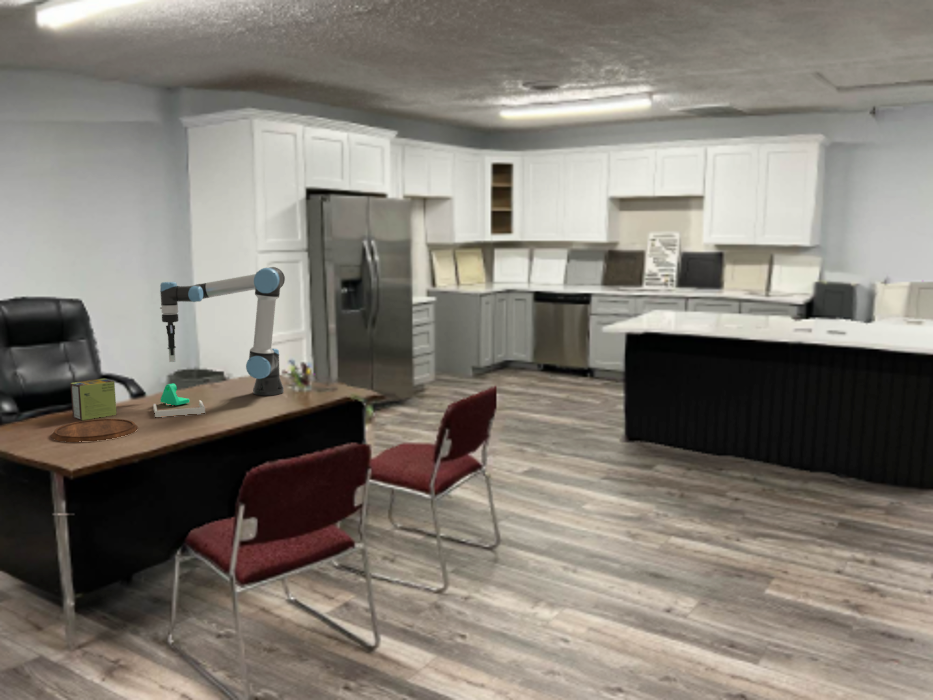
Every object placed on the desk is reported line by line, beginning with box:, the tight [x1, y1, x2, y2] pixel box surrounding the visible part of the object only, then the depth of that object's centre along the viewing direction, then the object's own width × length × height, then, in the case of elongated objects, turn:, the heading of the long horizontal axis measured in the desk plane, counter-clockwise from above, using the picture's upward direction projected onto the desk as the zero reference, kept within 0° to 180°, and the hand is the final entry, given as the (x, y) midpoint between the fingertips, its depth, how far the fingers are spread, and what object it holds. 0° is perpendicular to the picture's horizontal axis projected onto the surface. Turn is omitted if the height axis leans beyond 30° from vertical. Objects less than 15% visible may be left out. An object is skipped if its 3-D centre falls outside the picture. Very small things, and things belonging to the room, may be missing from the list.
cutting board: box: [51, 418, 139, 443], centre depth 318 cm, size 32×32×2 cm
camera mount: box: [160, 382, 190, 406], centre depth 371 cm, size 12×8×10 cm, turn 58°
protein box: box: [69, 378, 117, 421], centre depth 346 cm, size 10×15×16 cm
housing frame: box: [152, 399, 206, 418], centre depth 355 cm, size 21×16×3 cm
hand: (172, 361), depth 382 cm, fingers closed
